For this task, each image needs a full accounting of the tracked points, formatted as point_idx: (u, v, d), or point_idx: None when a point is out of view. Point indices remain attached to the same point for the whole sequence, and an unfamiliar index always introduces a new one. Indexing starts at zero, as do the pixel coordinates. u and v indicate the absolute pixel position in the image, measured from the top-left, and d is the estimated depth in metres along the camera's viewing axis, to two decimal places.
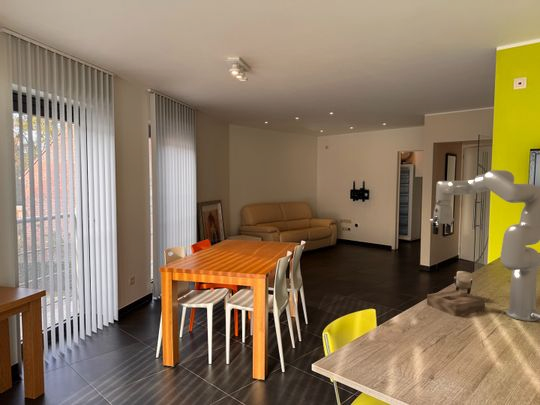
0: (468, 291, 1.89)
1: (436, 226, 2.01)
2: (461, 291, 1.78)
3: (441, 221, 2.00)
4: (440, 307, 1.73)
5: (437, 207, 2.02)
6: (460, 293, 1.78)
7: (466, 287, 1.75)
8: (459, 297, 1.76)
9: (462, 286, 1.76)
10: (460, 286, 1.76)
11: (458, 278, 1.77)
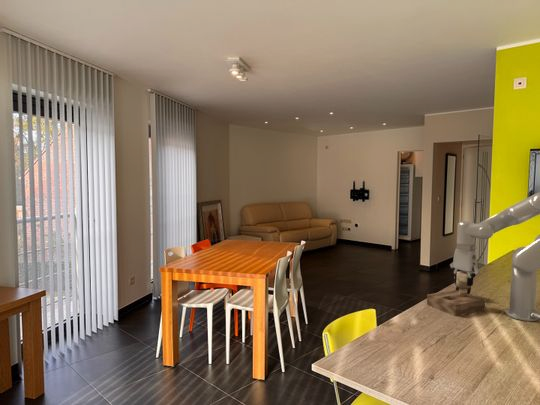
0: (468, 291, 1.89)
1: (473, 276, 1.75)
2: (461, 291, 1.78)
3: None
4: (440, 307, 1.73)
5: (474, 253, 1.73)
6: (460, 293, 1.78)
7: (466, 287, 1.75)
8: (459, 297, 1.76)
9: (462, 286, 1.76)
10: (460, 286, 1.76)
11: (458, 278, 1.77)
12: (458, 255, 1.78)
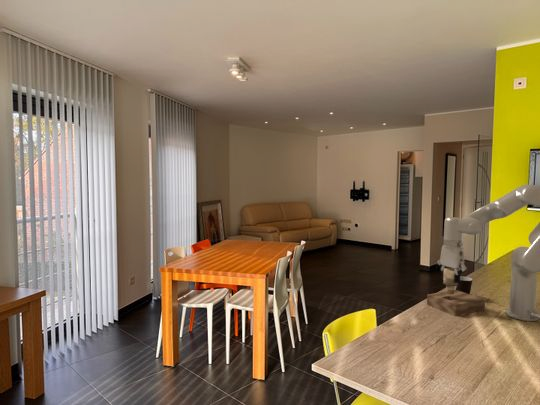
0: (468, 291, 1.89)
1: (460, 273, 1.71)
2: (448, 288, 1.74)
3: None
4: (440, 307, 1.73)
5: (461, 249, 1.69)
6: (447, 290, 1.74)
7: (453, 284, 1.71)
8: (459, 297, 1.76)
9: (449, 283, 1.72)
10: (447, 283, 1.73)
11: (445, 275, 1.74)
12: (445, 252, 1.74)
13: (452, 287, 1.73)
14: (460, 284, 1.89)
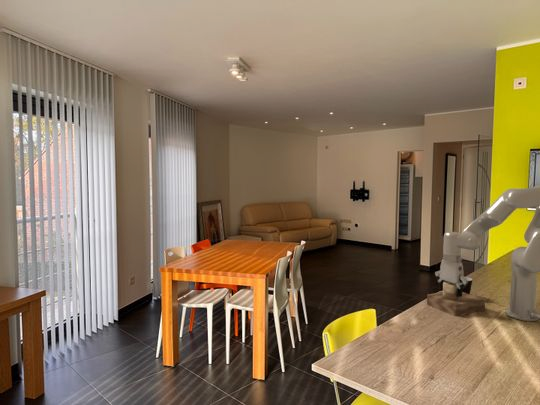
0: (468, 291, 1.89)
1: None
2: None
3: None
4: (440, 307, 1.73)
5: (460, 264, 1.70)
6: None
7: (452, 298, 1.72)
8: (459, 297, 1.76)
9: (448, 297, 1.73)
10: (446, 297, 1.73)
11: (444, 289, 1.74)
12: (445, 266, 1.74)
13: None
14: None
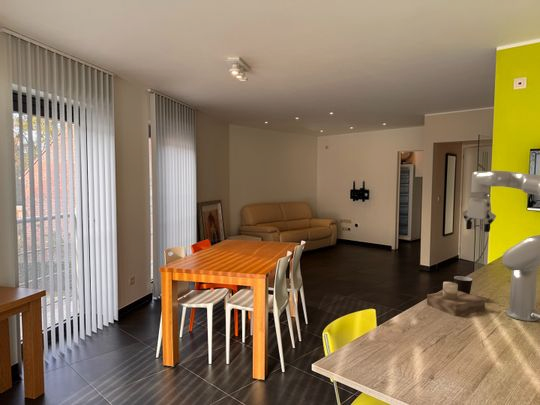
0: (468, 291, 1.89)
1: (490, 222, 1.78)
2: None
3: None
4: (440, 307, 1.73)
5: (488, 201, 1.78)
6: None
7: (452, 298, 1.72)
8: (459, 297, 1.76)
9: (448, 297, 1.73)
10: (446, 297, 1.73)
11: (444, 289, 1.74)
12: (473, 204, 1.82)
13: None
14: (460, 284, 1.89)
